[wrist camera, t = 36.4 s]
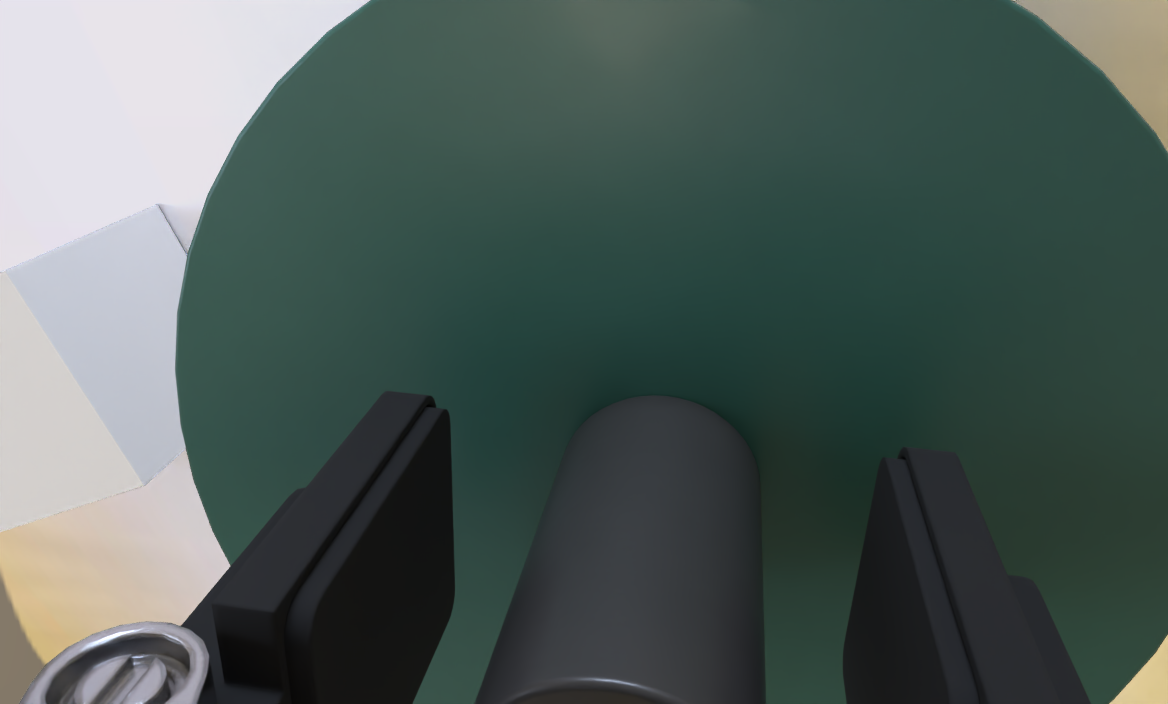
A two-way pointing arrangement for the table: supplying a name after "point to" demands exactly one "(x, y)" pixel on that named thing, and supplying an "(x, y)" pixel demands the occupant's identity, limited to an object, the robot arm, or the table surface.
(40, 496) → the white cube
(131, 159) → the table surface
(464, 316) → the lid
